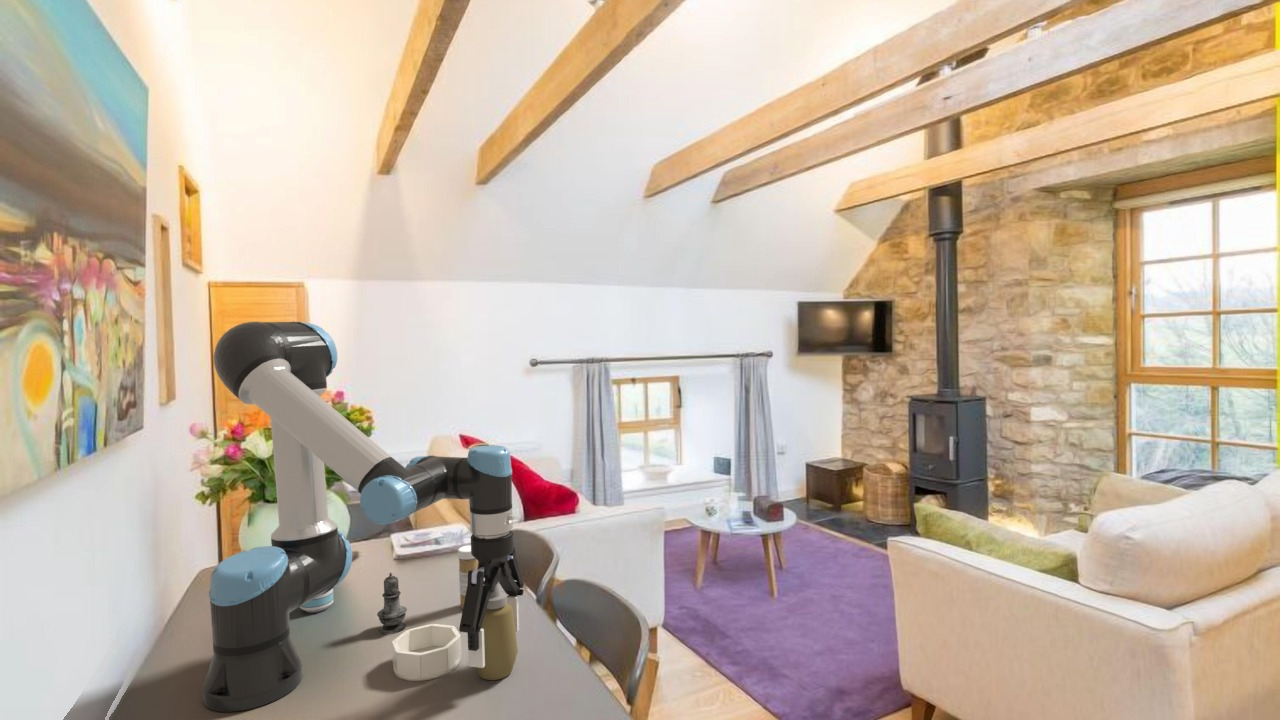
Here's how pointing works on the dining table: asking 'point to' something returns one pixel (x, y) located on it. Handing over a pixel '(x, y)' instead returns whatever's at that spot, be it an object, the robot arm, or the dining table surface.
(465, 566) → the sprinkles bottle
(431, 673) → the crock
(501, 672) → the squeeze bottle
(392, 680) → the dining table surface
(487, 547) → the robot arm
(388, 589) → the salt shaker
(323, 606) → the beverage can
